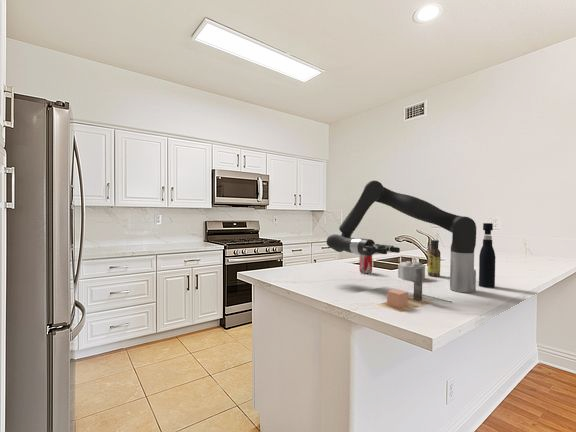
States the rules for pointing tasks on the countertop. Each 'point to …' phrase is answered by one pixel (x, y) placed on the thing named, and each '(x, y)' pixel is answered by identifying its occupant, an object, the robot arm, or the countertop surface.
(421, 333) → the countertop surface
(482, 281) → the wine bottle
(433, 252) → the sauce bottle
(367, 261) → the soda can
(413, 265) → the lumpy-topped squat cylinder
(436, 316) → the countertop surface
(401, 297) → the terracotta block
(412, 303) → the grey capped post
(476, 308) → the countertop surface
